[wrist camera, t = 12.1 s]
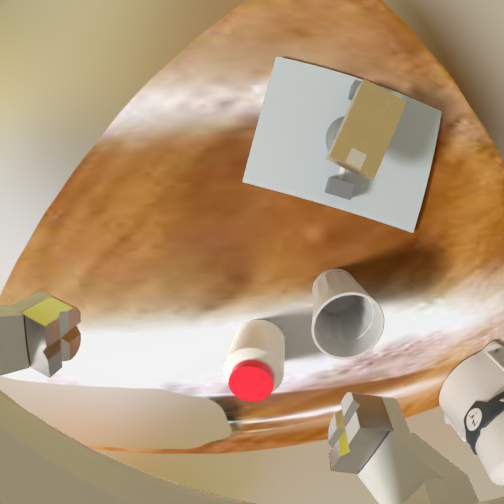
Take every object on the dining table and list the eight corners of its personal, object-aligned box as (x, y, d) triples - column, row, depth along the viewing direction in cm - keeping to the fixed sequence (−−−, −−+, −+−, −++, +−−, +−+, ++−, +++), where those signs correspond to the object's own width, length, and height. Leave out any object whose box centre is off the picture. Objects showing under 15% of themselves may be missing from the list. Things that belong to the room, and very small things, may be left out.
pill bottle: (296, 343, 46) (296, 386, 35) (259, 372, 48) (251, 417, 37) (259, 309, 45) (249, 346, 35) (223, 340, 47) (206, 381, 36)
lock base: (438, 113, 36) (461, 103, 29) (410, 231, 40) (430, 241, 33) (276, 59, 37) (273, 38, 30) (243, 181, 42) (234, 182, 35)
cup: (295, 294, 44) (296, 333, 33) (331, 251, 42) (346, 276, 31) (336, 326, 45) (349, 371, 33) (373, 285, 43) (398, 319, 31)
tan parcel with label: (355, 90, 31) (364, 78, 26) (392, 110, 31) (406, 101, 26) (324, 159, 33) (329, 156, 28) (363, 179, 33) (374, 179, 28)
